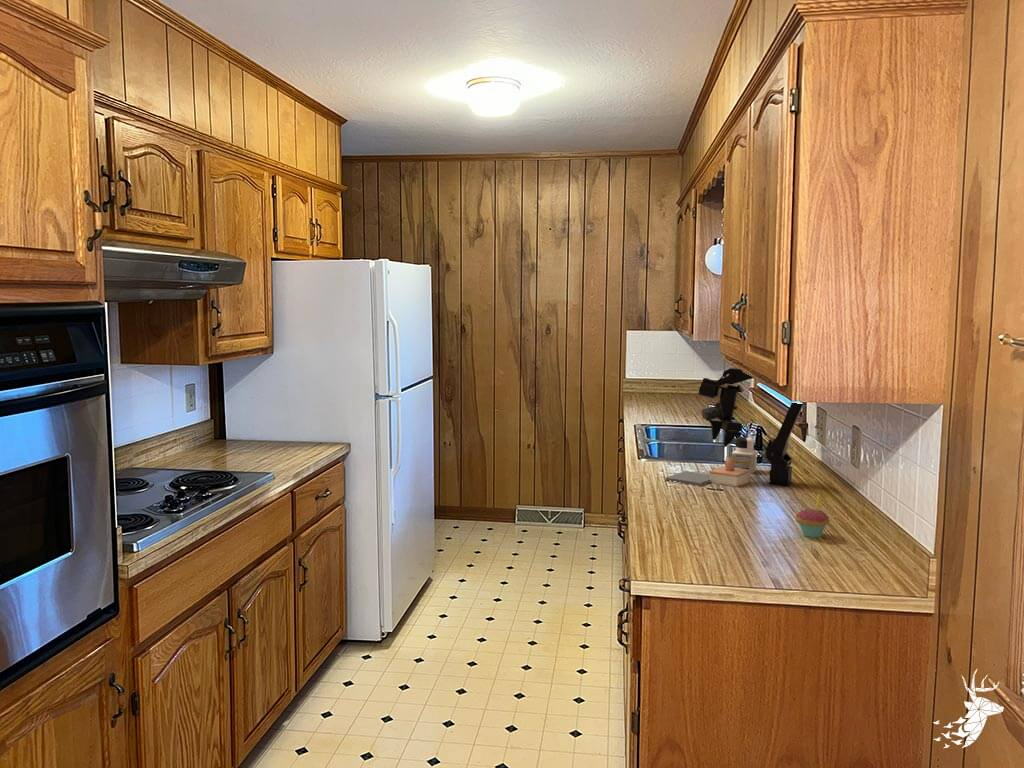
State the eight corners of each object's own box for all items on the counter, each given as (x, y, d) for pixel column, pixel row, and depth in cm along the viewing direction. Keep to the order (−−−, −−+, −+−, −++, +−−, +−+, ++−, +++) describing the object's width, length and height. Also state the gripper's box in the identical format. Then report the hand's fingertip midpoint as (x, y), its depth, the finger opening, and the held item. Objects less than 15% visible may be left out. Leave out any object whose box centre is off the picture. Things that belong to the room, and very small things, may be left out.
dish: (749, 481, 272) (749, 472, 272) (736, 486, 265) (736, 477, 264) (723, 477, 279) (723, 468, 278) (710, 482, 271) (710, 473, 271)
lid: (750, 472, 272) (750, 457, 271) (737, 477, 264) (737, 462, 263) (722, 468, 279) (723, 453, 278) (709, 473, 271) (709, 458, 270)
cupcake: (817, 529, 213) (818, 487, 212) (835, 538, 205) (836, 494, 204) (789, 531, 212) (790, 489, 211) (806, 540, 203) (807, 496, 202)
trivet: (719, 479, 276) (719, 476, 276) (700, 486, 266) (700, 483, 266) (685, 474, 286) (685, 470, 286) (665, 480, 275) (665, 477, 275)
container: (731, 472, 287) (732, 438, 286) (735, 468, 294) (736, 435, 293) (752, 474, 284) (753, 439, 282) (756, 470, 291) (757, 436, 289)
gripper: (696, 394, 283) (688, 434, 286) (717, 405, 265) (709, 448, 268) (723, 396, 285) (716, 436, 288) (747, 408, 267) (738, 451, 270)
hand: (719, 443), depth 278 cm, fingers open, 9 cm apart
